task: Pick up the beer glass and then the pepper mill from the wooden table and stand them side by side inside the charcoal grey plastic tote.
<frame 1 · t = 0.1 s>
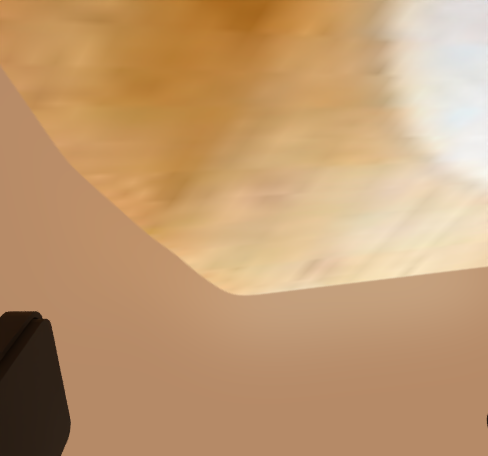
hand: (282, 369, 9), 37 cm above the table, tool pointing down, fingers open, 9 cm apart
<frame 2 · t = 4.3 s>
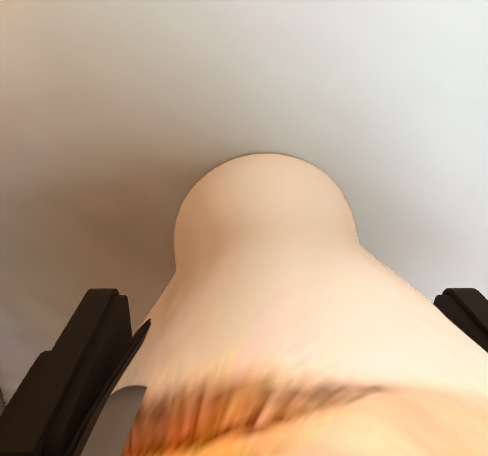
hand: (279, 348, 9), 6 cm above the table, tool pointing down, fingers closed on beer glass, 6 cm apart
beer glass: (263, 237, 15), on the table, touching gripper
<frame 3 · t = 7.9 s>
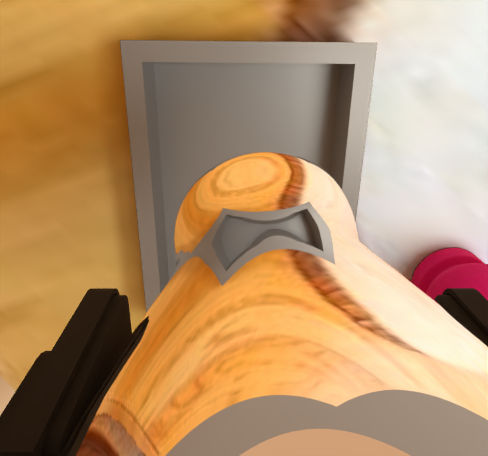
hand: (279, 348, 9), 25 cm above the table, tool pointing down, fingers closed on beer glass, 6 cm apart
pepper mill: (444, 277, 38), on the table
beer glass: (263, 235, 15), point 19 cm above the table, touching gripper
tote: (245, 192, 34), on the table
when the fingers open (8 cm above the table, at t = 11.6 s): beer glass drops 1 cm, resting on tote.
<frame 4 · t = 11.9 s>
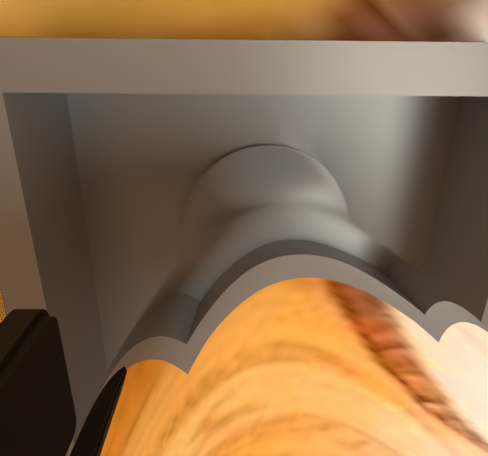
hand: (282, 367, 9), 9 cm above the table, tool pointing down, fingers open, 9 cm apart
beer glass: (264, 223, 16), point 1 cm above the table, touching tote
tote: (257, 319, 19), on the table
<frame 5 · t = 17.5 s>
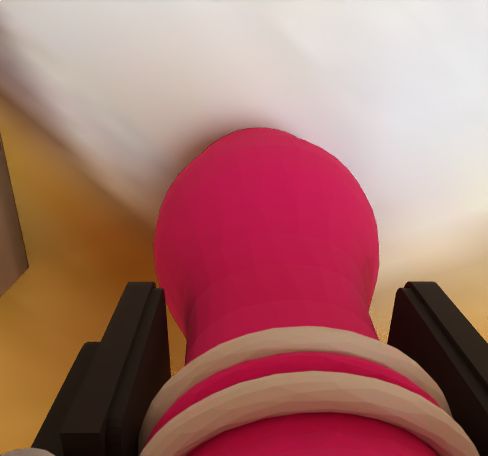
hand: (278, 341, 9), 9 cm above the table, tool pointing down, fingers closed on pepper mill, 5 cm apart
pepper mill: (257, 199, 18), on the table, touching gripper
when the fingers open (12 cm above the table, at t = 24.5 s): pepper mill drops 1 cm, resting on tote.
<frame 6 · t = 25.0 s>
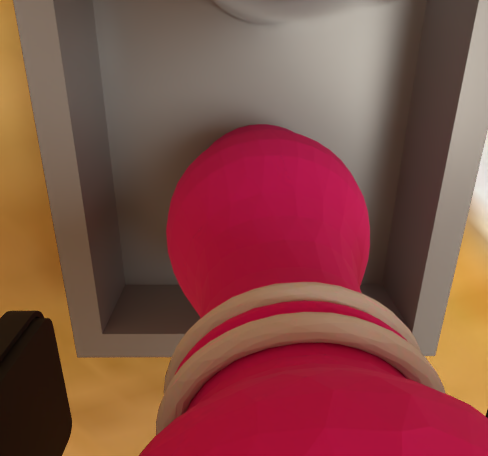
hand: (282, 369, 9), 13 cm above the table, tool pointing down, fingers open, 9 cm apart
pepper mill: (259, 190, 20), point 1 cm above the table, touching tote
tote: (258, 73, 18), on the table
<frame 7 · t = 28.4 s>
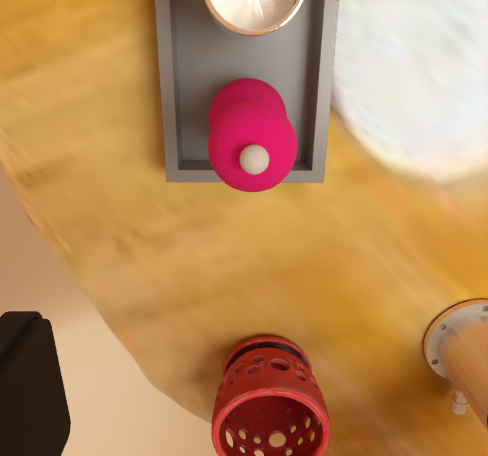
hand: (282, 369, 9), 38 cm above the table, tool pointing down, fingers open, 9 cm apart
pepper mill: (246, 112, 43), point 1 cm above the table, touching tote
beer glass: (247, 0, 39), point 1 cm above the table, touching tote
tote: (245, 58, 42), on the table
plant pot: (264, 362, 57), on the table
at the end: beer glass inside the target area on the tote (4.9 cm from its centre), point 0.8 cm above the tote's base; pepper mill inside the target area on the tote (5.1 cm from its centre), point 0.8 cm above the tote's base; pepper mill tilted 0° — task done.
